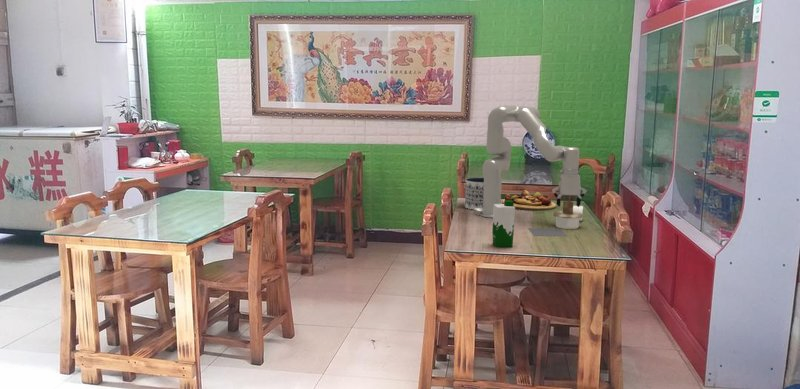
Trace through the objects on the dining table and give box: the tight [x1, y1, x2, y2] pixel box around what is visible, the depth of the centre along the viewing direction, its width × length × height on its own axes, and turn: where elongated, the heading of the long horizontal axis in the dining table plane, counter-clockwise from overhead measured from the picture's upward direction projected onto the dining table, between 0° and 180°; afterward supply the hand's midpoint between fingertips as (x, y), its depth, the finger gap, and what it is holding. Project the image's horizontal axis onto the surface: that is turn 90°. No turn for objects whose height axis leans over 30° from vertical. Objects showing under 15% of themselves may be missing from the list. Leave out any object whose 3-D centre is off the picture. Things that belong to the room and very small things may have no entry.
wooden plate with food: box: [501, 189, 557, 212], centre depth 374 cm, size 32×32×8 cm
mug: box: [573, 205, 584, 222], centre depth 335 cm, size 12×10×8 cm
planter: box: [464, 177, 484, 211], centre depth 364 cm, size 18×18×16 cm
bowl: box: [555, 216, 580, 230], centre depth 317 cm, size 11×11×6 cm
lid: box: [553, 200, 583, 218], centre depth 315 cm, size 14×14×7 cm
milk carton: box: [491, 200, 516, 248], centre depth 278 cm, size 9×9×20 cm
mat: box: [527, 227, 569, 237], centre depth 304 cm, size 16×16×1 cm
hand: (568, 206), depth 315 cm, fingers open, 9 cm apart
